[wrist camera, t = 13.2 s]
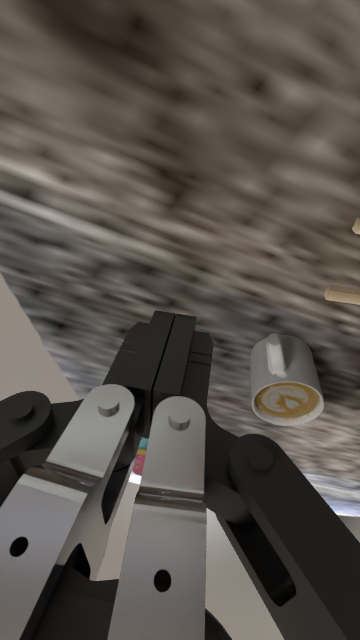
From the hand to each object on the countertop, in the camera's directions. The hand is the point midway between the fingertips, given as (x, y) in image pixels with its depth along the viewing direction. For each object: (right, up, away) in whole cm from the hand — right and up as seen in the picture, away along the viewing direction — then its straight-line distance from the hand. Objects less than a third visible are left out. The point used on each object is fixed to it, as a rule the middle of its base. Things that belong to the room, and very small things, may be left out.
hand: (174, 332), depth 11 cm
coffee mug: (+17, -4, +39) cm, 43 cm away
